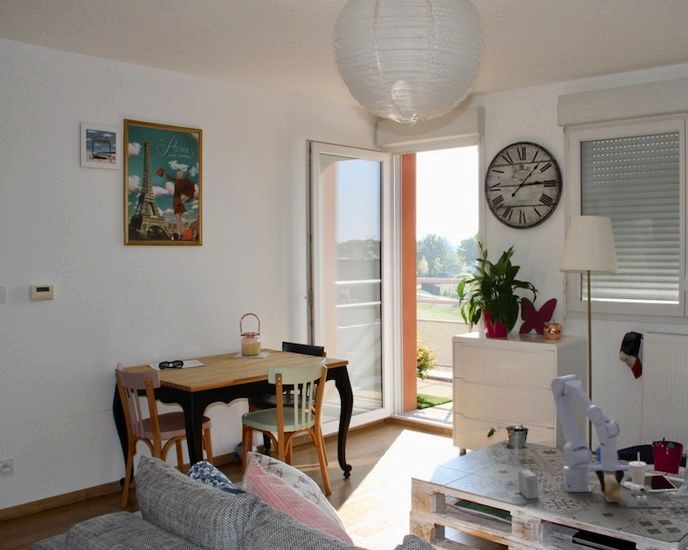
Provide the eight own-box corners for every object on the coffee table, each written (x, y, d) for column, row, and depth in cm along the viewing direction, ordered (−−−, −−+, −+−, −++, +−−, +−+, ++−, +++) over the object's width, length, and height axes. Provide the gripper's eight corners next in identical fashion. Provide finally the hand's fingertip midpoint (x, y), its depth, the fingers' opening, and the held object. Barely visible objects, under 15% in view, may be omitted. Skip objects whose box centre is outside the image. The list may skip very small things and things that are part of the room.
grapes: (625, 470, 304) (624, 442, 304) (615, 474, 301) (613, 445, 300) (603, 464, 314) (601, 436, 314) (592, 467, 311) (591, 439, 310)
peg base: (627, 508, 263) (626, 500, 263) (617, 492, 279) (616, 485, 279) (662, 508, 262) (661, 499, 262) (650, 492, 277) (649, 484, 277)
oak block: (607, 501, 266) (606, 485, 266) (600, 490, 278) (600, 474, 278) (620, 501, 266) (619, 485, 265) (612, 490, 277) (612, 474, 277)
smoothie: (648, 491, 279) (647, 455, 279) (631, 491, 280) (629, 454, 280) (645, 485, 285) (644, 450, 285) (628, 485, 287) (626, 450, 286)
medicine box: (538, 498, 279) (537, 475, 278) (527, 499, 278) (526, 476, 277) (529, 491, 286) (528, 469, 286) (519, 492, 286) (518, 470, 285)
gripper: (590, 457, 268) (591, 494, 269) (631, 457, 266) (633, 494, 267) (586, 452, 275) (588, 487, 276) (627, 451, 273) (628, 487, 274)
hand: (610, 490), depth 272 cm, fingers closed on oak block, 4 cm apart
